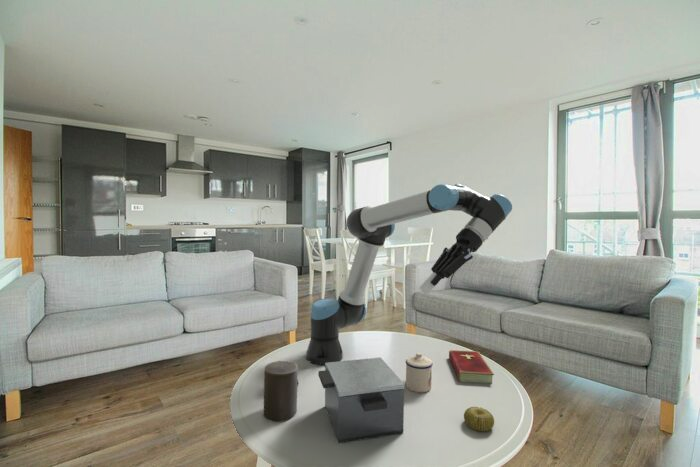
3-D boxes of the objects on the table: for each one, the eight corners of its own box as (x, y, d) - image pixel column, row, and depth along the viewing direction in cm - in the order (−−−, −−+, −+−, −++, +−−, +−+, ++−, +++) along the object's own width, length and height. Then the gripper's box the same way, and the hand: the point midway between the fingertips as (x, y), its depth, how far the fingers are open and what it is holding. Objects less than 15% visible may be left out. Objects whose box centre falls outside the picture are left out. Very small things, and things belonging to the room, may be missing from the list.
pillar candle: (268, 425, 94) (269, 372, 94) (260, 408, 103) (261, 359, 102) (301, 417, 99) (302, 366, 98) (291, 401, 107) (292, 354, 107)
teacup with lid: (435, 393, 113) (435, 358, 113) (407, 393, 113) (408, 358, 113) (426, 376, 125) (427, 345, 125) (401, 376, 125) (402, 345, 125)
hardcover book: (458, 382, 122) (459, 371, 122) (448, 359, 143) (449, 349, 143) (493, 385, 120) (493, 373, 120) (478, 361, 141) (478, 350, 141)
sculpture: (470, 419, 92) (460, 403, 100) (469, 434, 92) (459, 417, 100) (499, 419, 92) (487, 404, 100) (499, 434, 92) (486, 417, 100)
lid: (315, 367, 103) (315, 363, 103) (380, 361, 109) (380, 357, 109) (327, 398, 86) (327, 393, 86) (404, 388, 91) (404, 384, 91)
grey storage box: (323, 401, 107) (323, 363, 107) (376, 394, 112) (377, 358, 112) (341, 451, 84) (341, 403, 84) (408, 439, 89) (408, 394, 88)
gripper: (494, 245, 100) (442, 304, 96) (468, 242, 112) (421, 295, 109) (478, 227, 98) (425, 287, 95) (454, 226, 111) (406, 279, 107)
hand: (423, 291), depth 102 cm, fingers closed
